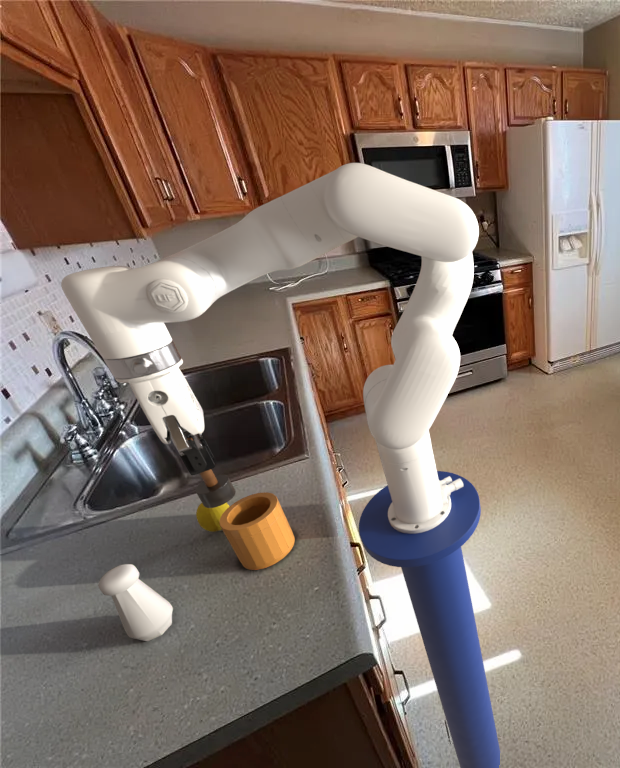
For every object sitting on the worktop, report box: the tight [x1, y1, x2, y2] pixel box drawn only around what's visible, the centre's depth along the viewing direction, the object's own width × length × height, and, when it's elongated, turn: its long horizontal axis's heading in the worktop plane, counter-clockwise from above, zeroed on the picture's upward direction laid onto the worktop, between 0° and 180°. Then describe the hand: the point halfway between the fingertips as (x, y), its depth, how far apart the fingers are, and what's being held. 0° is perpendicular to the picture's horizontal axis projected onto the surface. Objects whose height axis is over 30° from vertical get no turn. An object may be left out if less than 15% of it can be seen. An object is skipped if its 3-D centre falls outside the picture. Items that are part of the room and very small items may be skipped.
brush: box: [187, 437, 237, 508], centre depth 65 cm, size 5×5×12 cm
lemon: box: [195, 502, 231, 533], centre depth 82 cm, size 6×6×8 cm
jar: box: [219, 491, 296, 571], centre depth 76 cm, size 9×9×10 cm
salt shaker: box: [97, 563, 174, 642], centre depth 63 cm, size 6×6×13 cm
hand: (203, 466), depth 65 cm, fingers closed on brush
